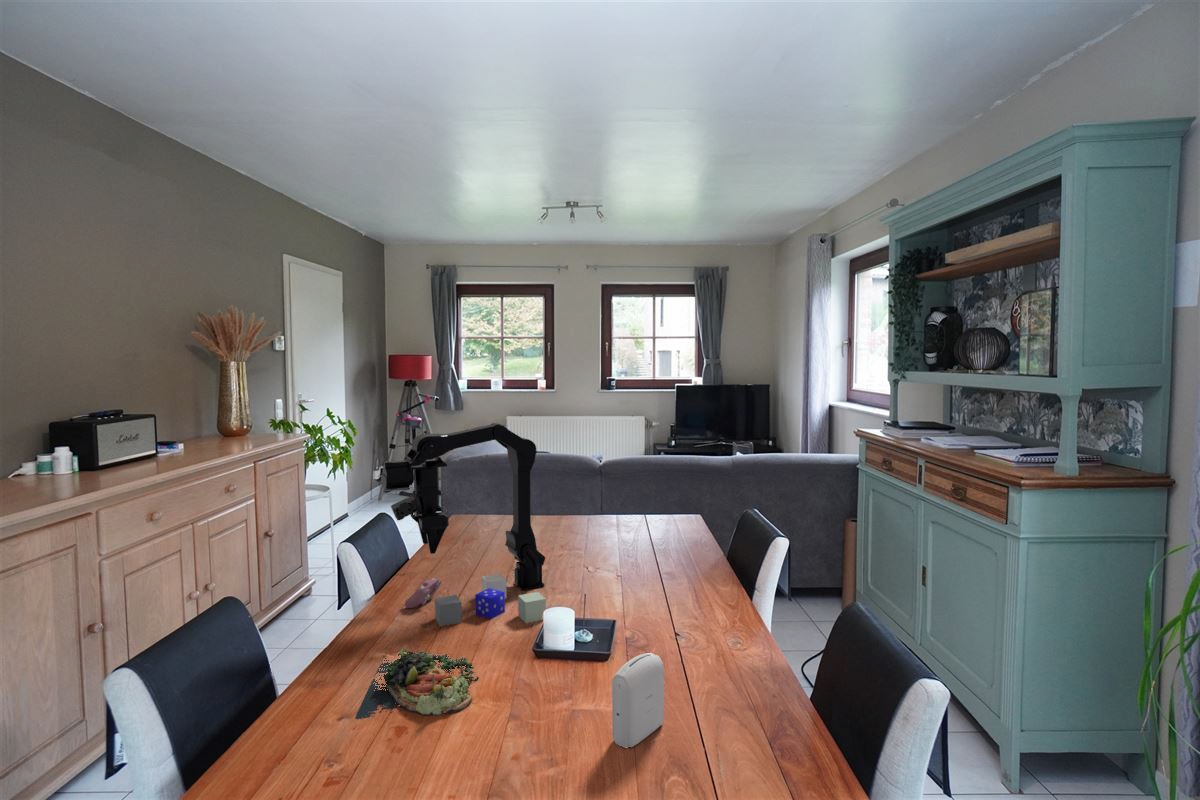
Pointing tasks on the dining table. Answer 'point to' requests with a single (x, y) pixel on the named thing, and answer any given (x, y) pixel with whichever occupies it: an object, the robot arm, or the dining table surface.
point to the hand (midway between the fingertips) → (429, 548)
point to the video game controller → (423, 593)
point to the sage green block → (531, 607)
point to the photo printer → (637, 699)
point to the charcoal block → (448, 610)
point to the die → (490, 603)
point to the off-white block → (494, 583)
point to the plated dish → (420, 686)
